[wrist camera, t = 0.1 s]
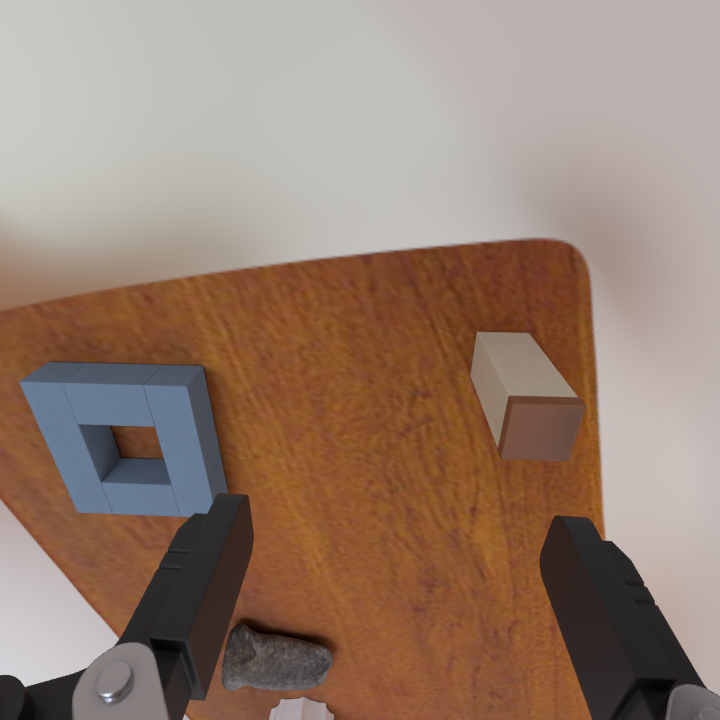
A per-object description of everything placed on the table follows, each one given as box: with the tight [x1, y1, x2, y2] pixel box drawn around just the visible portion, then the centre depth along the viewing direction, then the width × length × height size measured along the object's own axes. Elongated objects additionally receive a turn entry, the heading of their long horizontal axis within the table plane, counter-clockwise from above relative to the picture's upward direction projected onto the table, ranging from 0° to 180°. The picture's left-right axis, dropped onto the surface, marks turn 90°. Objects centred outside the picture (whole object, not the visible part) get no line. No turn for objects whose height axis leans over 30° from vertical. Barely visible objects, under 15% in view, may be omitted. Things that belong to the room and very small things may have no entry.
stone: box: [222, 624, 333, 691], centre depth 48 cm, size 12×5×10 cm
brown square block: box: [470, 332, 586, 461], centre depth 26 cm, size 4×4×9 cm
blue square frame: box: [19, 362, 228, 517], centre depth 33 cm, size 13×12×3 cm
